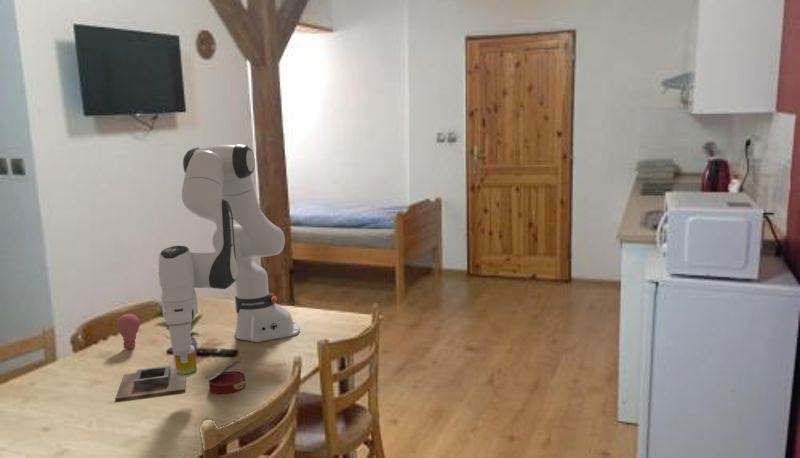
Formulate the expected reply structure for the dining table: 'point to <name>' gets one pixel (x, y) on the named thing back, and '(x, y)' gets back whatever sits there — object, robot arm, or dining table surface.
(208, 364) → the dining table surface
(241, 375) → the canned food
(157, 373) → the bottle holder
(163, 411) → the dining table surface
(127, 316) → the light bulb
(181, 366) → the supplement bottle
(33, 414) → the dining table surface
